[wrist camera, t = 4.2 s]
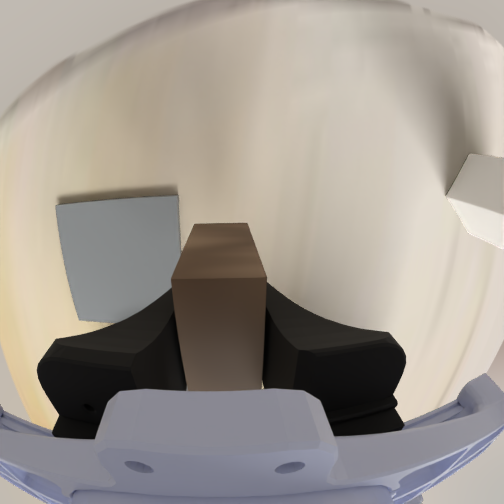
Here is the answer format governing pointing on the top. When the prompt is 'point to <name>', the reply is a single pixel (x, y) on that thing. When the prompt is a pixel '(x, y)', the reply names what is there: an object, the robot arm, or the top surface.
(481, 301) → the top surface
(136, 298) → the mat
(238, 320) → the tall brown wooden block
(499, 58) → the top surface
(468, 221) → the milk
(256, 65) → the top surface
